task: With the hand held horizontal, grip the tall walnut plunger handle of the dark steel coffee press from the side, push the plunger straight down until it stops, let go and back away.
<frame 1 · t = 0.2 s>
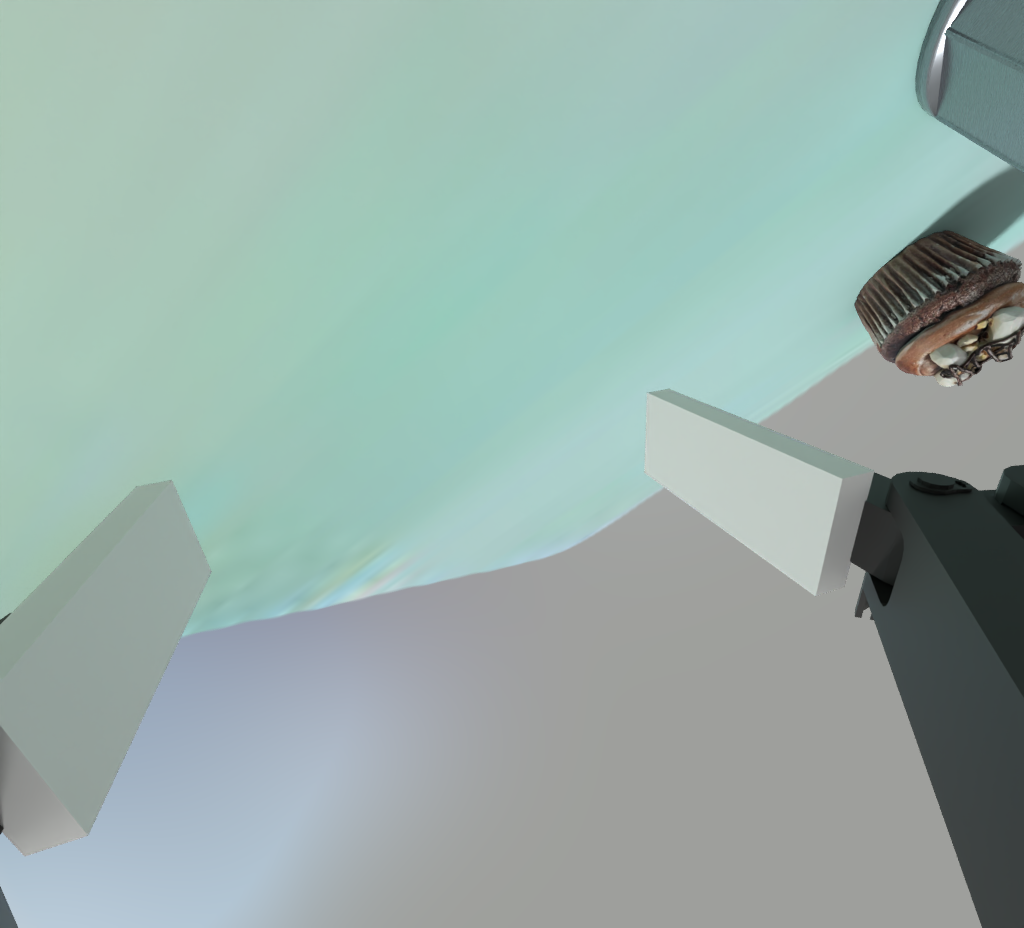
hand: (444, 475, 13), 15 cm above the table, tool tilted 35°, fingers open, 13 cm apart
cupcake: (901, 273, 39), on the table
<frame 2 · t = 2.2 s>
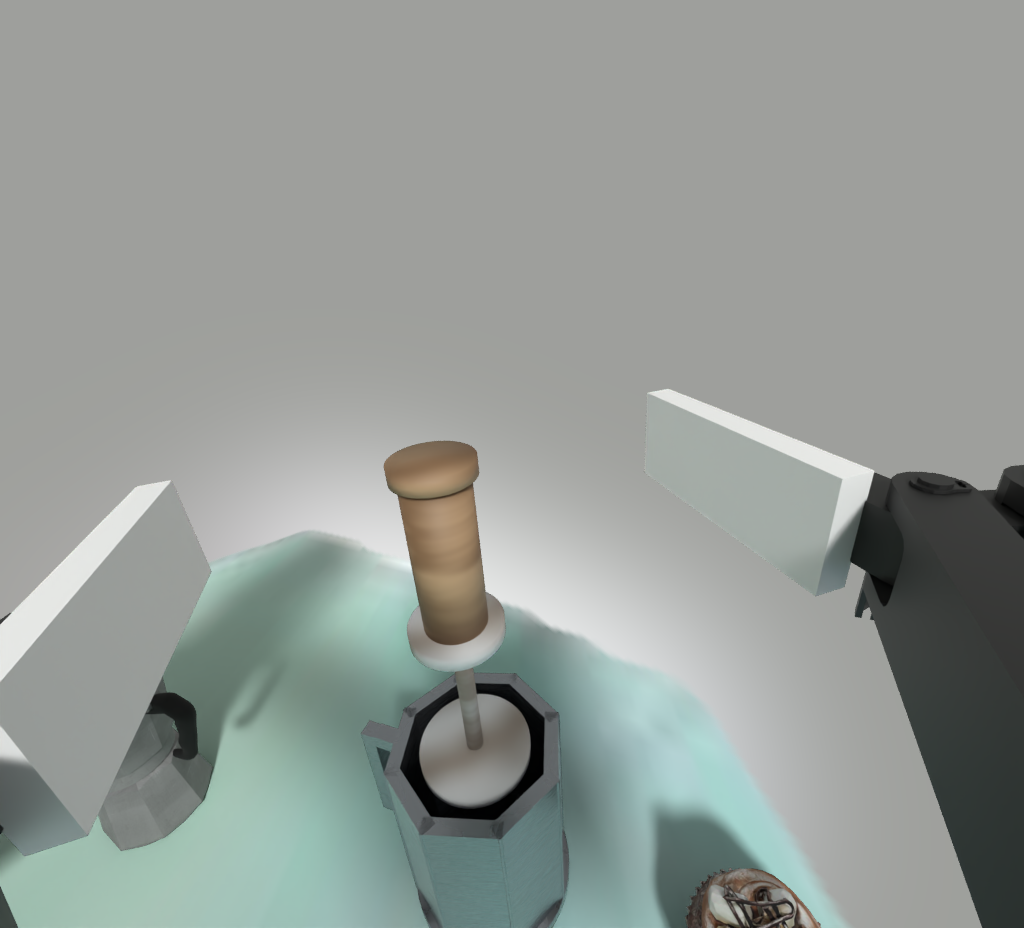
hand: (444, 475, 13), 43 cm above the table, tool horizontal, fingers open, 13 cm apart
plunger: (457, 628, 29), point 27 cm above the table, slide at 0.0 cm
press carafe: (493, 861, 41), on the table
coffeepot: (172, 801, 48), on the table
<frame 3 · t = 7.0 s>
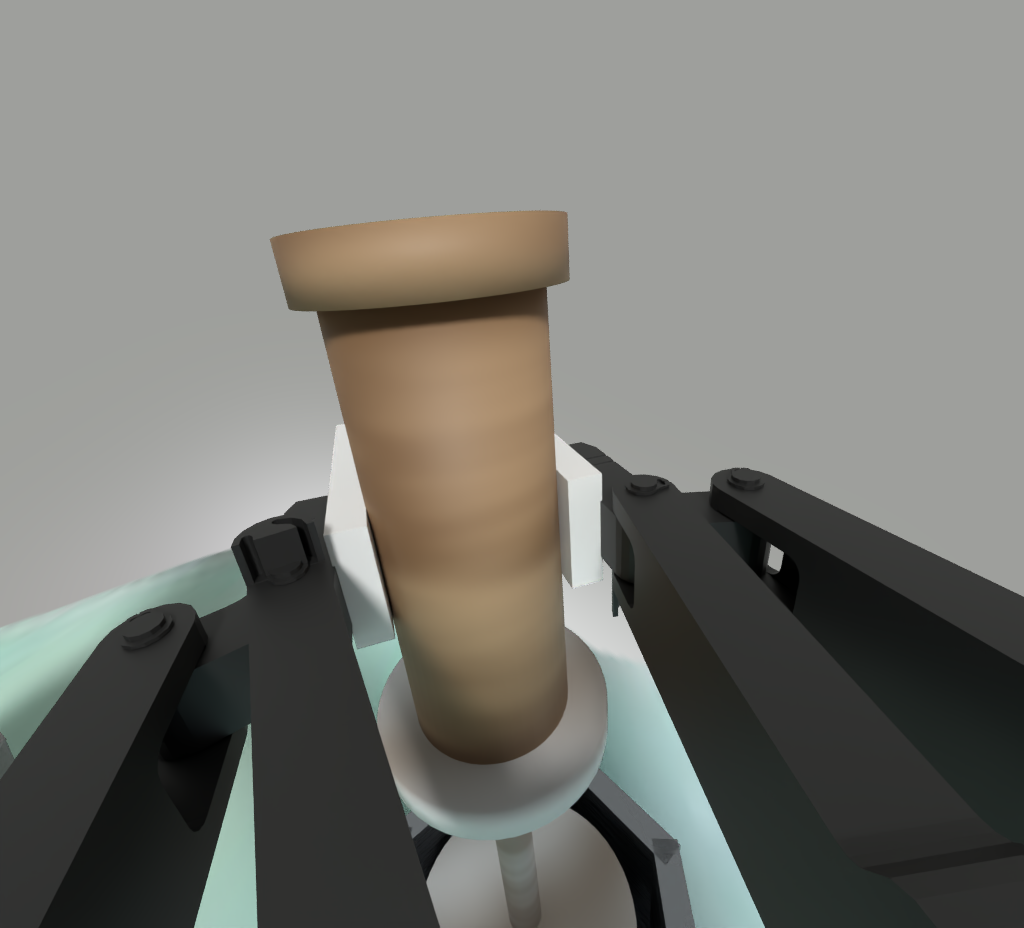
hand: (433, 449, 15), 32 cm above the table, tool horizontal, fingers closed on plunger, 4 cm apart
plunger: (494, 707, 13), point 27 cm above the table, slide at 0.0 cm, touching gripper
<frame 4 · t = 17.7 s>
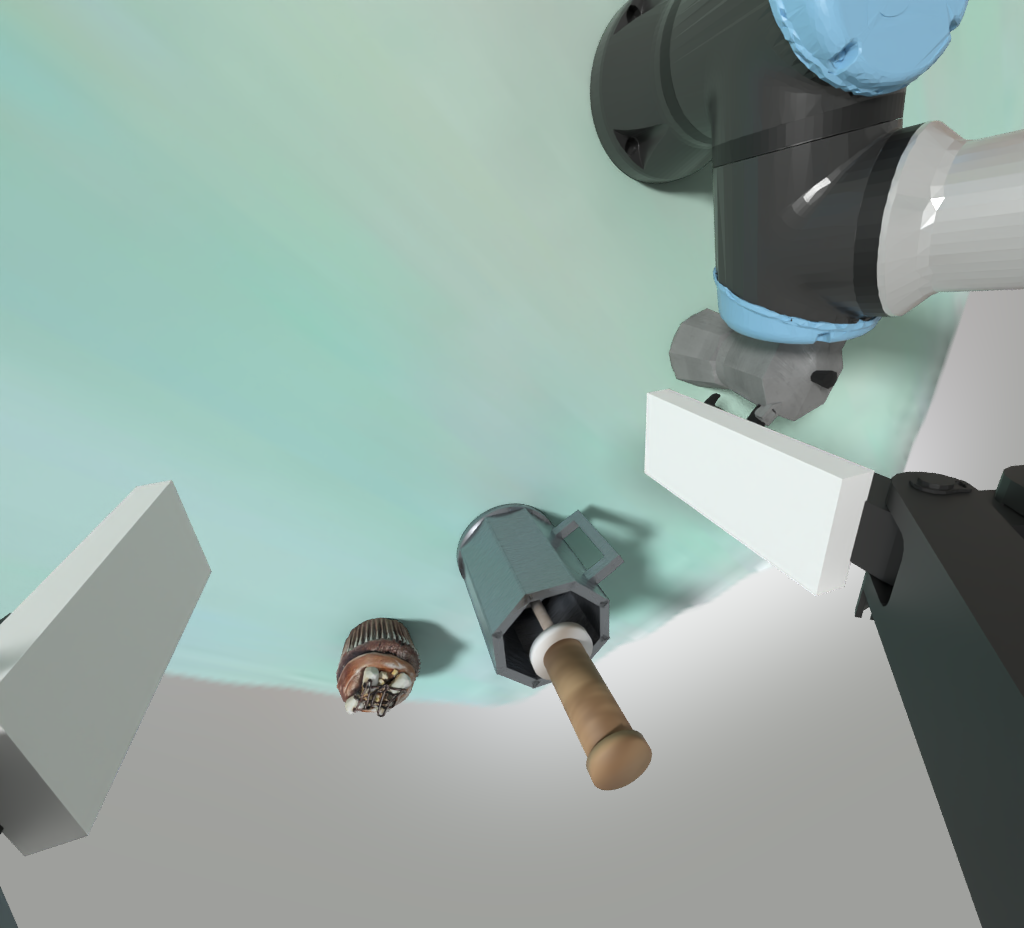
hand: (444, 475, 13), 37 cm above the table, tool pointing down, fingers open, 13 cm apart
plunger: (560, 649, 44), point 18 cm above the table, slide at 9.1 cm
cupcake: (377, 641, 60), on the table
press carafe: (507, 549, 60), on the table
coffeepot: (693, 354, 58), on the table
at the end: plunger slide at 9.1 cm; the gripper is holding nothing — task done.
